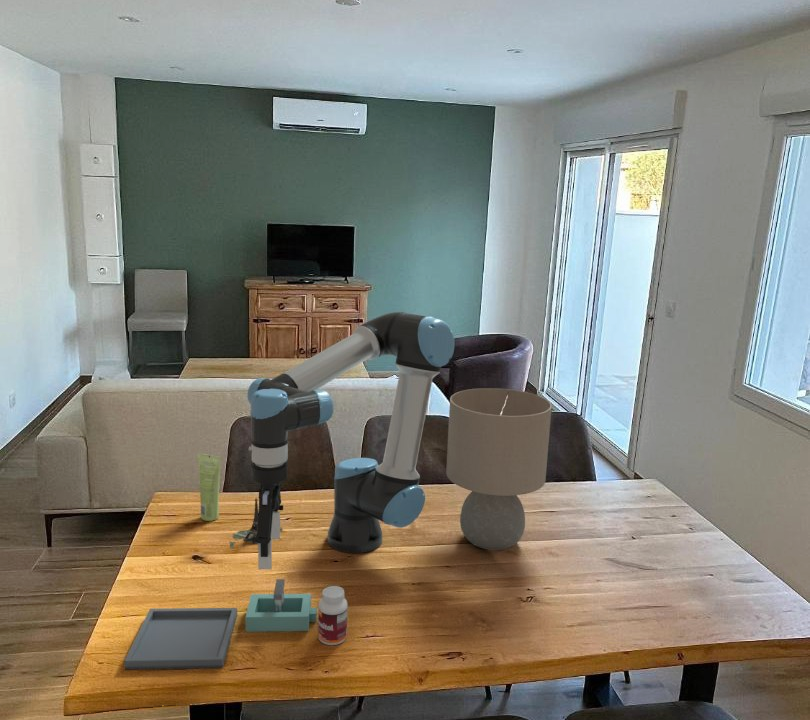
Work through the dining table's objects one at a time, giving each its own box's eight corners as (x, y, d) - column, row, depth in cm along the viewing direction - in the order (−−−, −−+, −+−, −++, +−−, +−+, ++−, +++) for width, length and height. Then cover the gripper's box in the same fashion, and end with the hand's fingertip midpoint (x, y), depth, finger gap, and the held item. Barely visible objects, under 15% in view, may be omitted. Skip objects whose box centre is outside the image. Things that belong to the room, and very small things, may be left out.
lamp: (495, 576, 176) (505, 422, 167) (423, 537, 196) (429, 397, 187) (559, 545, 194) (572, 404, 185) (487, 512, 213) (496, 383, 204)
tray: (237, 615, 156) (237, 607, 156) (222, 668, 139) (222, 659, 138) (150, 616, 155) (150, 608, 154) (124, 669, 137) (124, 660, 137)
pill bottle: (311, 637, 149) (312, 591, 147) (332, 625, 154) (333, 580, 151) (332, 650, 145) (332, 603, 143) (352, 637, 150) (353, 591, 148)
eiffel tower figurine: (282, 528, 200) (282, 484, 197) (286, 544, 190) (286, 499, 187) (228, 533, 195) (227, 489, 192) (230, 550, 186) (229, 504, 183)
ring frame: (317, 607, 160) (317, 593, 160) (315, 630, 152) (315, 616, 151) (251, 608, 159) (251, 594, 159) (245, 631, 151) (245, 617, 150)
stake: (290, 610, 159) (290, 579, 157) (288, 627, 153) (287, 594, 151) (271, 611, 158) (270, 579, 157) (267, 627, 152) (267, 594, 150)
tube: (219, 512, 207) (217, 450, 202) (222, 519, 202) (220, 456, 198) (199, 515, 204) (197, 453, 200) (202, 523, 200) (200, 458, 195)
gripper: (260, 441, 161) (261, 527, 165) (240, 484, 136) (242, 582, 141) (293, 442, 161) (293, 527, 166) (279, 484, 137) (279, 582, 141)
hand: (269, 553), depth 153 cm, fingers open, 13 cm apart
